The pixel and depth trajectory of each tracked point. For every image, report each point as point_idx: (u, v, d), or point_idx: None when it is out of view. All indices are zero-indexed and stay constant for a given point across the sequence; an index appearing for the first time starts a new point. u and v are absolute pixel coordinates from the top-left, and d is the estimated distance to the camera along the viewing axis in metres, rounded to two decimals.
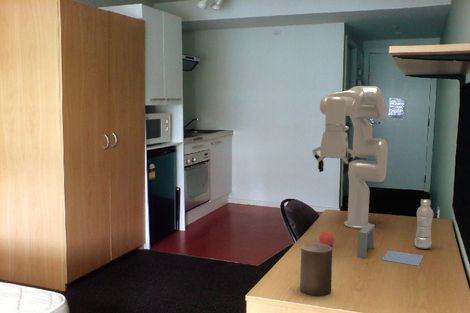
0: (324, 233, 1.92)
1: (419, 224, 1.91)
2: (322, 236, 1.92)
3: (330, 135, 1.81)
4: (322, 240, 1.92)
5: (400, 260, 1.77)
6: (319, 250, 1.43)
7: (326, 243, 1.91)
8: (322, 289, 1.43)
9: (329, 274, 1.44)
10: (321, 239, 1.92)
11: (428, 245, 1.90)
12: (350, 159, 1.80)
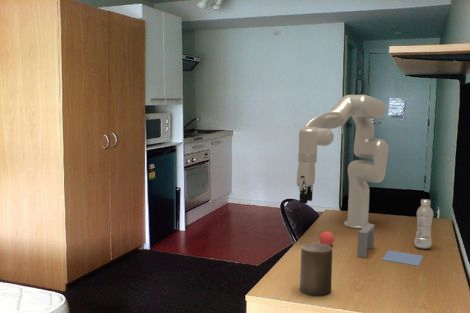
0: (324, 233, 1.92)
1: (419, 224, 1.91)
2: (322, 236, 1.92)
3: (312, 165, 1.93)
4: (322, 240, 1.92)
5: (400, 260, 1.77)
6: (319, 250, 1.43)
7: (326, 243, 1.91)
8: (322, 289, 1.43)
9: (329, 274, 1.44)
10: (321, 239, 1.92)
11: (428, 245, 1.90)
12: None
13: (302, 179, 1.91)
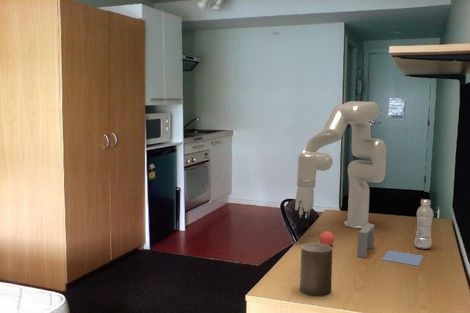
0: (324, 233, 1.92)
1: (419, 224, 1.91)
2: (322, 236, 1.92)
3: (311, 190, 1.94)
4: (322, 240, 1.92)
5: (400, 260, 1.77)
6: (319, 250, 1.43)
7: (326, 243, 1.91)
8: (322, 289, 1.43)
9: (329, 274, 1.44)
10: (321, 239, 1.92)
11: (428, 245, 1.90)
12: (308, 212, 1.98)
13: (301, 205, 1.92)
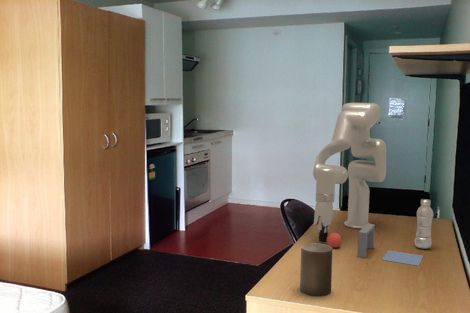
0: (336, 236, 1.90)
1: (419, 224, 1.91)
2: (332, 238, 1.89)
3: (330, 204, 1.91)
4: (330, 241, 1.90)
5: (400, 260, 1.77)
6: (319, 250, 1.43)
7: (331, 245, 1.90)
8: (322, 289, 1.43)
9: (329, 274, 1.44)
10: (329, 239, 1.90)
11: (428, 245, 1.90)
12: (327, 226, 1.95)
13: (320, 220, 1.89)
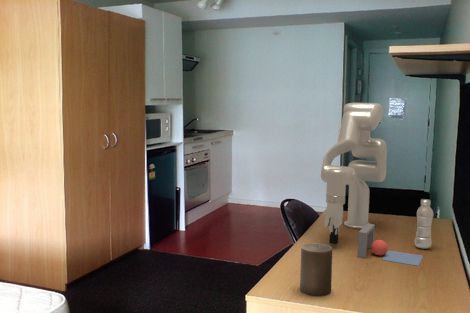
0: (380, 243, 1.81)
1: (419, 224, 1.91)
2: (377, 245, 1.81)
3: (340, 206, 1.89)
4: (375, 249, 1.81)
5: (400, 260, 1.77)
6: (319, 250, 1.43)
7: (378, 253, 1.81)
8: (322, 289, 1.43)
9: (329, 274, 1.44)
10: (374, 247, 1.81)
11: (428, 245, 1.90)
12: None
13: (331, 222, 1.87)
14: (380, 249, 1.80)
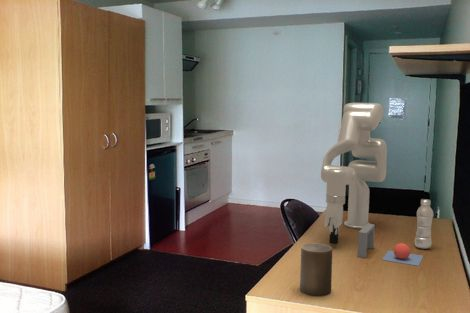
0: (401, 258, 1.77)
1: (419, 224, 1.91)
2: (402, 256, 1.76)
3: (340, 206, 1.89)
4: (402, 252, 1.76)
5: (400, 260, 1.77)
6: (319, 250, 1.43)
7: (398, 248, 1.77)
8: (322, 289, 1.43)
9: (329, 274, 1.44)
10: (403, 253, 1.76)
11: (428, 245, 1.90)
12: None
13: (331, 222, 1.87)
14: (397, 253, 1.77)
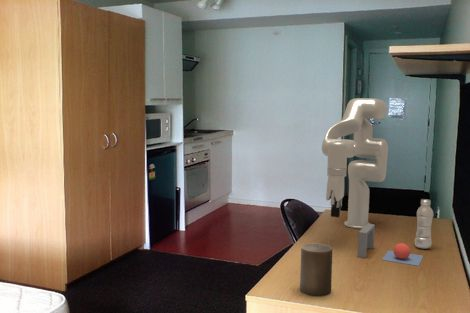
0: (401, 258, 1.77)
1: (419, 224, 1.91)
2: (402, 256, 1.76)
3: (342, 179, 1.88)
4: (402, 252, 1.76)
5: (400, 260, 1.77)
6: (319, 250, 1.43)
7: (398, 248, 1.77)
8: (322, 289, 1.43)
9: (329, 274, 1.44)
10: (403, 253, 1.76)
11: (428, 245, 1.90)
12: None
13: (332, 195, 1.86)
14: (397, 253, 1.77)
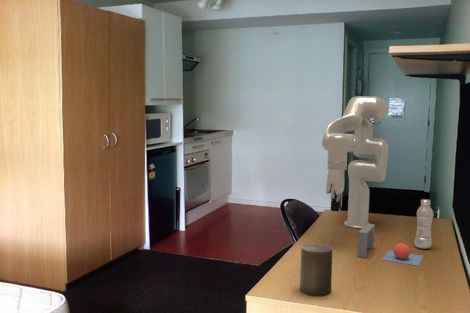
0: (401, 258, 1.77)
1: (419, 224, 1.91)
2: (402, 256, 1.76)
3: (342, 172, 1.87)
4: (402, 252, 1.76)
5: (400, 260, 1.77)
6: (319, 250, 1.43)
7: (398, 248, 1.77)
8: (322, 289, 1.43)
9: (329, 274, 1.44)
10: (403, 253, 1.76)
11: (428, 245, 1.90)
12: None
13: (333, 188, 1.86)
14: (397, 253, 1.77)
